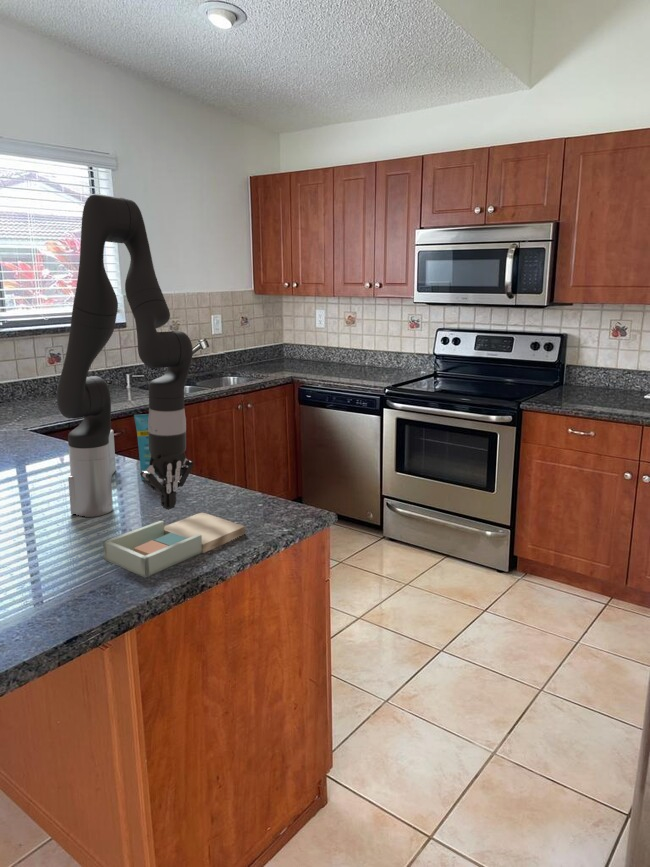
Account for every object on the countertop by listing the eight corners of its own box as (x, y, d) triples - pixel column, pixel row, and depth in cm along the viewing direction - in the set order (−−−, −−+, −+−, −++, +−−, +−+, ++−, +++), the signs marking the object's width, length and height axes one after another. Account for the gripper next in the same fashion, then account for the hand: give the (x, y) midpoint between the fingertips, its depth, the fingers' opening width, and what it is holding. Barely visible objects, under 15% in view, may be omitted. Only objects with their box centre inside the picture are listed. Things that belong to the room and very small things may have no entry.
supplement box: (91, 470, 191) (88, 429, 188) (116, 470, 192) (114, 429, 188) (84, 478, 184) (81, 435, 181) (110, 478, 184) (108, 435, 181)
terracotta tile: (150, 563, 131) (150, 554, 130) (134, 556, 133) (133, 548, 133) (169, 554, 135) (168, 545, 134) (152, 548, 137) (152, 540, 137)
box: (145, 577, 125) (144, 558, 124) (104, 559, 133) (103, 541, 132) (201, 552, 137) (201, 535, 136) (161, 537, 145) (160, 520, 144)
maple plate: (203, 553, 137) (203, 544, 136) (159, 536, 145) (159, 528, 144) (245, 534, 147) (245, 526, 147) (202, 519, 155) (202, 512, 155)
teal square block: (170, 554, 135) (170, 545, 134) (154, 548, 137) (153, 539, 137) (187, 546, 139) (187, 537, 138) (171, 540, 141) (171, 532, 141)
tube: (140, 483, 181) (137, 416, 176) (134, 478, 184) (131, 413, 180) (165, 479, 185) (163, 413, 180) (160, 474, 188) (157, 410, 184)
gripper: (153, 438, 125) (155, 521, 129) (203, 427, 135) (204, 504, 140) (129, 431, 129) (131, 512, 134) (179, 420, 140) (180, 495, 144)
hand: (168, 507), depth 137 cm, fingers closed
